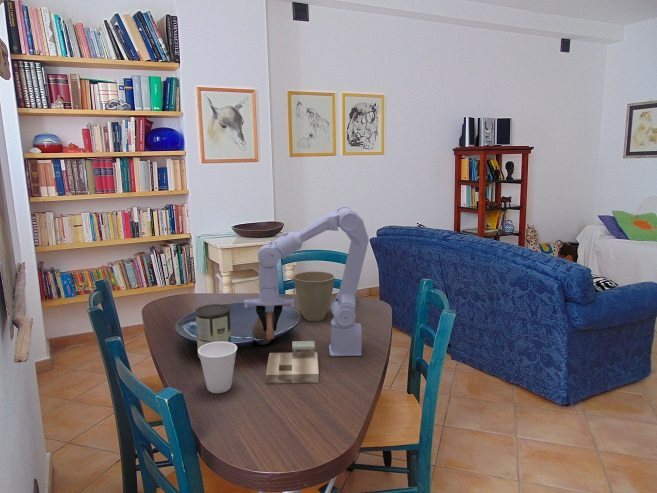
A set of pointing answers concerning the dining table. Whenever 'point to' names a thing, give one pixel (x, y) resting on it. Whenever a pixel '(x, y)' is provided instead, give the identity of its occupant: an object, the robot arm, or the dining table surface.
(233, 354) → the cup
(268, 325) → the peg
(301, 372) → the socket board
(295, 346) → the pale green box
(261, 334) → the vase
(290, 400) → the dining table surface
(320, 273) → the plant pot
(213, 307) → the coffee can
